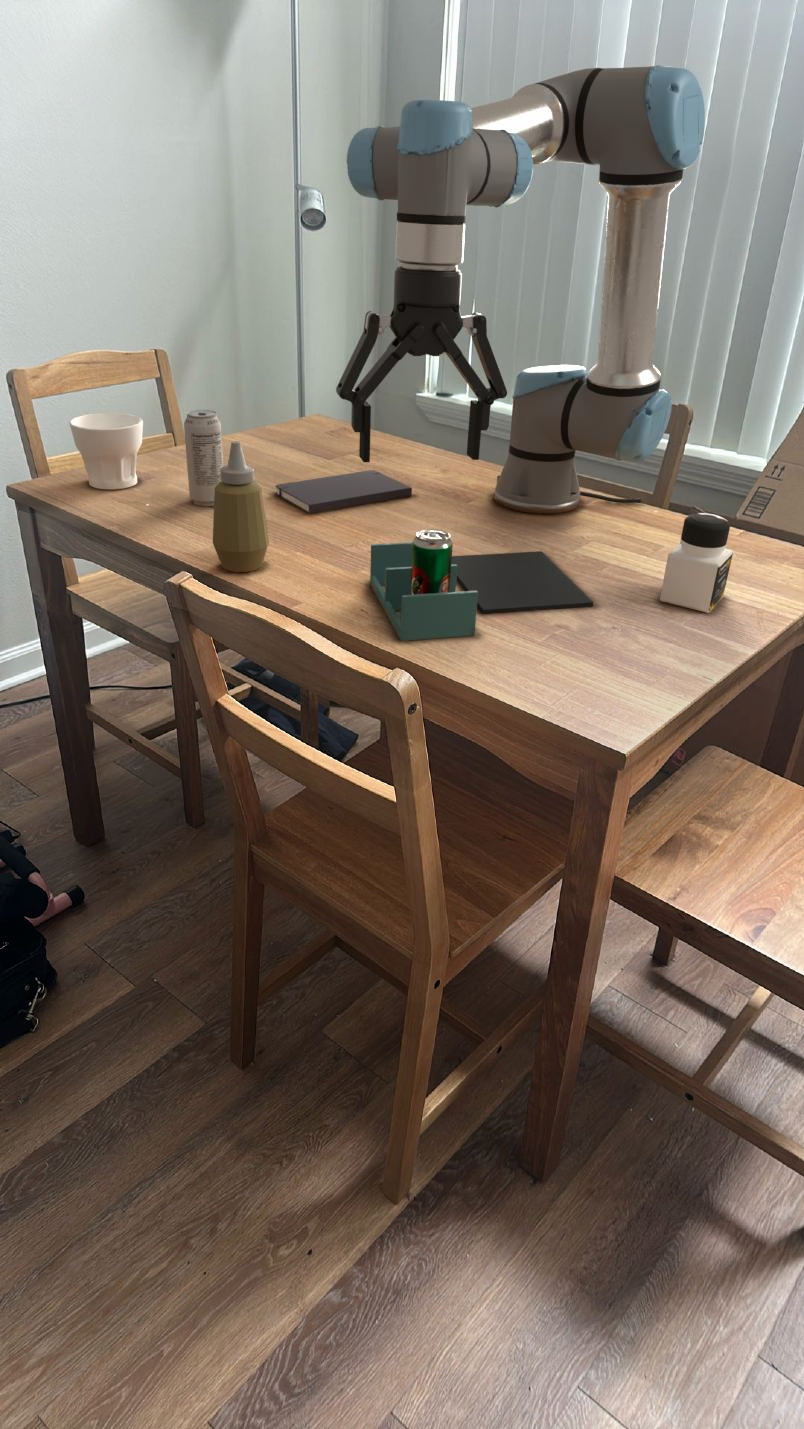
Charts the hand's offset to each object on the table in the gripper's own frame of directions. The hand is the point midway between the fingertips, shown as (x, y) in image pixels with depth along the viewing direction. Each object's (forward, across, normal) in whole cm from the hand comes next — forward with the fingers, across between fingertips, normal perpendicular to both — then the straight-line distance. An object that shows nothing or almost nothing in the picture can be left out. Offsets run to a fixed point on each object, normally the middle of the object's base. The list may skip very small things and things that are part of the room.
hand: (419, 458), depth 115 cm
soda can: (+21, -2, +2) cm, 21 cm away
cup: (+21, +40, -65) cm, 79 cm away
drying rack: (+21, -2, -2) cm, 21 cm away
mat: (+21, -18, -9) cm, 29 cm away
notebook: (+21, 0, -53) cm, 57 cm away
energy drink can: (+21, +24, -52) cm, 61 cm away
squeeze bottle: (+21, +21, -21) cm, 36 cm away
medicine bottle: (+21, -41, +1) cm, 46 cm away
